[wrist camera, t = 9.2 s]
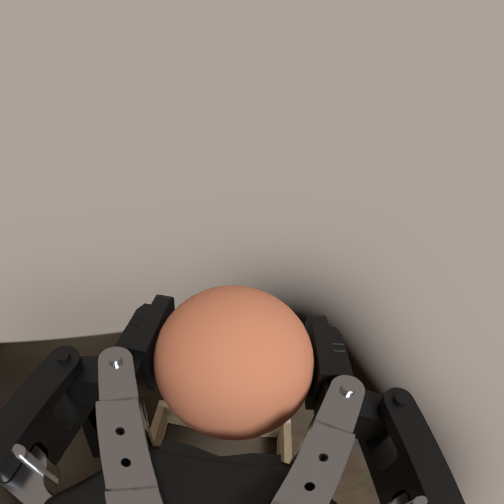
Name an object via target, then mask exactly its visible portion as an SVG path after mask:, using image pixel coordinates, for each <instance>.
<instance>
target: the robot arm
mask: <svg viewBox="0 0 504 504" xmlns="http://www.w3.org/2000/svg"><path fill="white" fill-rule="evenodd" d="M174 310H175V307H174V298H173V297H170V296H164V295H156V297H155V299H154V300H153V302H152V304H144V305H142V306H141V307H139V308H138V309H137V310H136V311H135V313H134V315H133V316H132V319H131V320H130V321H129V323H128V325H127V326H126V328H125V330H124V331H123V333H122V335H121V337H120V338H119V340H118V342H117V344H116V345H115V347H110V348H107V349H105V350H104V351H103V352H102V353H101V354H100V355H99V356H96V357H87V356H80V354H79V352H78V351H77V349H75V348H74V347H71V346H61V347H58V348H56V349H55V350H54V351H52V352H51V354H50V355H49V356H48V357H47V358H46V359H45V360H44V361H43V362H42V363H41V364H40V366H39V367H38V368H37V369H36V370H35V371H34V372H33V373H32V374H31V376H30V377H29V378H28V379H27V380H26V381H25V382H24V384H23V385H22V386H21V387H20V388H19V389H18V390H17V392H16V393H15V394H14V395H13V396H12V398H11V399H10V400H9V401H8V402H7V404H6V405H5V406H4V407H3V409H2V410H1V411H0V485H1V486H3V487H4V488H6V489H7V490H9V491H10V492H11V493H12V494H13V495H14V496H15V497H16V498H18V499H19V500H20V501H21V502H22V503H23V504H337V503H336V502H335V501H334V500H333V499H332V496H333V494H334V492H335V489H336V487H337V485H338V482H339V480H340V477H341V475H342V473H343V470H344V467H345V465H346V462H347V459H348V457H349V454H350V451H351V448H352V446H353V443H354V440H355V438H357V439H358V441H359V444H360V446H361V449H362V452H363V455H364V457H365V460H366V463H367V466H368V469H369V471H370V474H371V477H372V480H373V483H374V486H375V489H376V492H377V495H378V497H379V500H380V503H381V504H465V502H464V500H463V498H462V495H461V493H460V491H459V488H458V486H457V484H456V482H455V479H454V477H453V475H452V473H451V471H450V469H449V467H448V465H447V462H446V460H445V458H444V456H443V454H442V452H441V450H440V448H439V446H438V444H437V442H436V440H435V438H434V436H433V434H432V432H431V430H430V428H429V426H428V424H427V422H426V420H425V419H424V417H423V415H422V413H421V411H420V409H419V407H418V406H417V404H416V402H415V400H414V398H413V397H412V395H411V394H410V393H409V392H408V391H406V390H404V389H402V388H391V389H389V390H388V391H387V392H386V393H385V394H380V393H376V392H372V391H368V390H366V389H365V388H364V386H363V384H362V383H361V382H360V381H359V380H358V379H357V378H355V377H354V376H353V372H352V368H351V365H350V361H349V358H348V354H347V352H346V347H345V345H344V340H343V337H342V335H341V333H340V332H339V331H338V330H337V329H336V327H329V326H328V322H327V318H326V316H325V315H314V314H309V315H308V317H307V320H306V324H305V329H306V331H307V333H308V336H309V338H310V341H311V345H312V349H313V356H314V371H313V379H312V383H311V386H310V389H309V392H308V394H307V396H306V398H305V407H306V409H312V410H314V417H313V419H312V421H311V423H310V425H309V427H308V429H307V431H306V433H305V435H304V437H303V439H302V441H301V443H300V445H299V447H298V449H297V450H296V452H295V454H294V456H293V457H292V459H291V461H290V463H289V464H288V463H285V462H281V455H277V454H257V453H249V454H241V455H232V456H217V455H214V454H212V453H209V452H206V451H204V450H201V449H199V448H196V447H194V446H191V445H187V444H182V443H177V442H172V441H167V440H163V439H162V442H161V445H160V446H155V445H154V442H153V438H152V435H151V431H150V427H149V422H148V418H147V413H146V408H145V404H144V399H143V394H144V391H145V389H146V388H147V389H151V390H154V387H155V385H156V379H155V374H154V360H153V359H154V351H155V344H156V341H157V339H158V336H159V333H160V330H161V329H162V327H163V325H164V323H165V322H166V320H167V318H168V317H169V316H170V315H171V313H172V312H173V311H174ZM95 406H96V420H97V431H98V440H99V448H100V456H101V462H102V470H101V471H99V472H97V473H95V474H94V475H92V476H90V477H88V478H86V479H84V480H83V481H81V482H79V483H77V484H75V485H73V486H71V487H69V488H67V489H65V490H63V491H61V492H59V493H57V484H58V483H59V470H58V467H57V463H58V462H59V460H60V459H61V457H62V455H63V454H64V452H65V451H66V449H67V448H68V446H69V445H70V443H71V441H72V440H73V438H74V437H75V435H76V434H77V432H78V431H79V429H80V428H81V426H82V425H83V423H84V422H85V420H86V419H87V417H88V416H89V414H90V413H91V411H92V410H93V408H94V407H95Z"/></svg>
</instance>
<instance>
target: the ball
mask: <svg viewBox="0 0 504 504" xmlns="http://www.w3.org/2000/svg"><path fill="white" fill-rule="evenodd" d="M153 360H154V374H155V379H156V383H157V386H158V389H159V391H160V393H161V396H162V398H163V399H164V401H165V402H166V404H167V406H168V407H169V409H170V410H171V411H172V412H173V413H174V414H175V415H176V416H177V417H178V418H179V419H180V420H181V421H182V422H184V423H185V424H186V425H187V426H189V427H191V428H192V429H194V430H196V431H198V432H200V433H202V434H204V435H207V436H211V437H214V438H219V439H224V440H246V439H251V438H256V437H259V436H262V435H265V434H267V433H269V432H272V431H274V430H275V429H277V428H279V427H280V426H282V425H283V424H285V423H286V422H287V421H288V420H289V419H290V418H291V417H292V416H293V415H294V414H295V413H296V412H297V411H298V409H299V408H300V407H301V405H302V404H303V402H304V400H305V398H306V396H307V394H308V392H309V389H310V386H311V383H312V379H313V371H314V356H313V349H312V345H311V341H310V338H309V336H308V333H307V331H306V329H305V327H304V326H303V324H302V322H301V321H300V319H299V318H298V317H297V316H296V315H295V313H294V312H293V311H292V310H291V309H290V308H289V307H288V306H287V305H286V304H284V303H283V302H281V301H280V300H279V299H277V298H276V297H274V296H272V295H270V294H268V293H266V292H263V291H260V290H257V289H254V288H250V287H245V286H222V287H215V288H211V289H208V290H205V291H202V292H200V293H198V294H196V295H194V296H192V297H190V298H189V299H187V300H186V301H185V302H183V303H182V304H180V305H179V306H178V307H177V308H176V309H175V310H174V311H173V312H172V313H171V315H170V316H169V317H168V318H167V320H166V322H165V323H164V325H163V327H162V329H161V330H160V333H159V336H158V339H157V341H156V344H155V351H154V359H153Z"/></svg>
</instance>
